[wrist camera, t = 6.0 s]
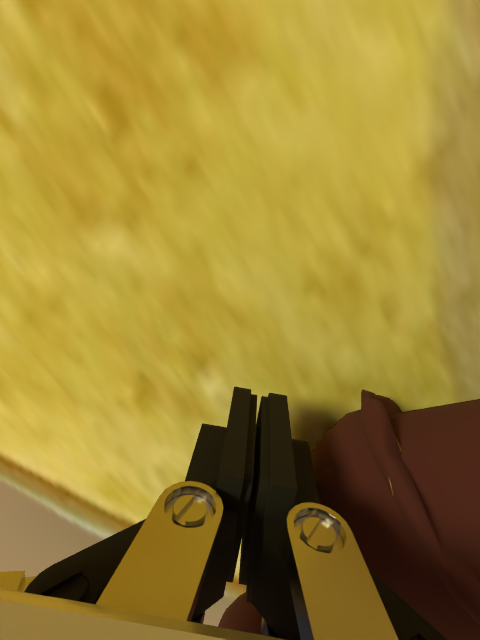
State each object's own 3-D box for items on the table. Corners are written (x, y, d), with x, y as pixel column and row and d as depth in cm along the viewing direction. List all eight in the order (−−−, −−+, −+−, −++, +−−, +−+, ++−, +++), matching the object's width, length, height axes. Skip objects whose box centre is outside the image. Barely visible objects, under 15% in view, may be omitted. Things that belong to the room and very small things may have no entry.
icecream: (788, 225, 5) (125, 580, 10) (1207, 682, 4) (283, 812, 10) (547, 244, 12) (216, 455, 17) (707, 432, 11) (314, 590, 16)
